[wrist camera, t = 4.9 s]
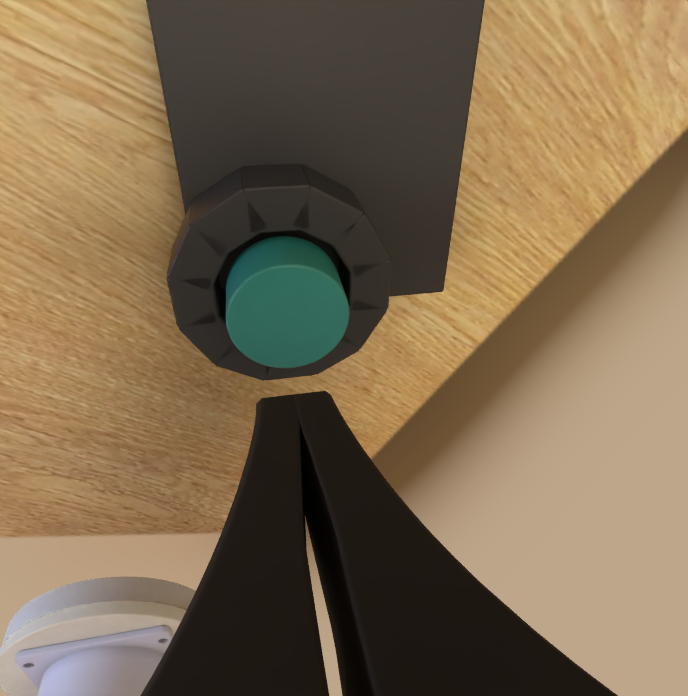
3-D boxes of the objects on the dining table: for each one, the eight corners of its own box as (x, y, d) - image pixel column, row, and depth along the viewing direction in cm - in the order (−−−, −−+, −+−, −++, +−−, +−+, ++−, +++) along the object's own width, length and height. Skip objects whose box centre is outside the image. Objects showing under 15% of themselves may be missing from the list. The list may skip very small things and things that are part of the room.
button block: (423, 305, 20) (456, 360, 17) (196, 326, 18) (190, 389, 16) (464, -38, 13) (526, -40, 11) (123, -43, 12) (92, -47, 9)
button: (338, 328, 16) (349, 362, 14) (233, 338, 15) (233, 375, 14) (338, 231, 14) (350, 259, 12) (218, 239, 13) (217, 270, 12)
